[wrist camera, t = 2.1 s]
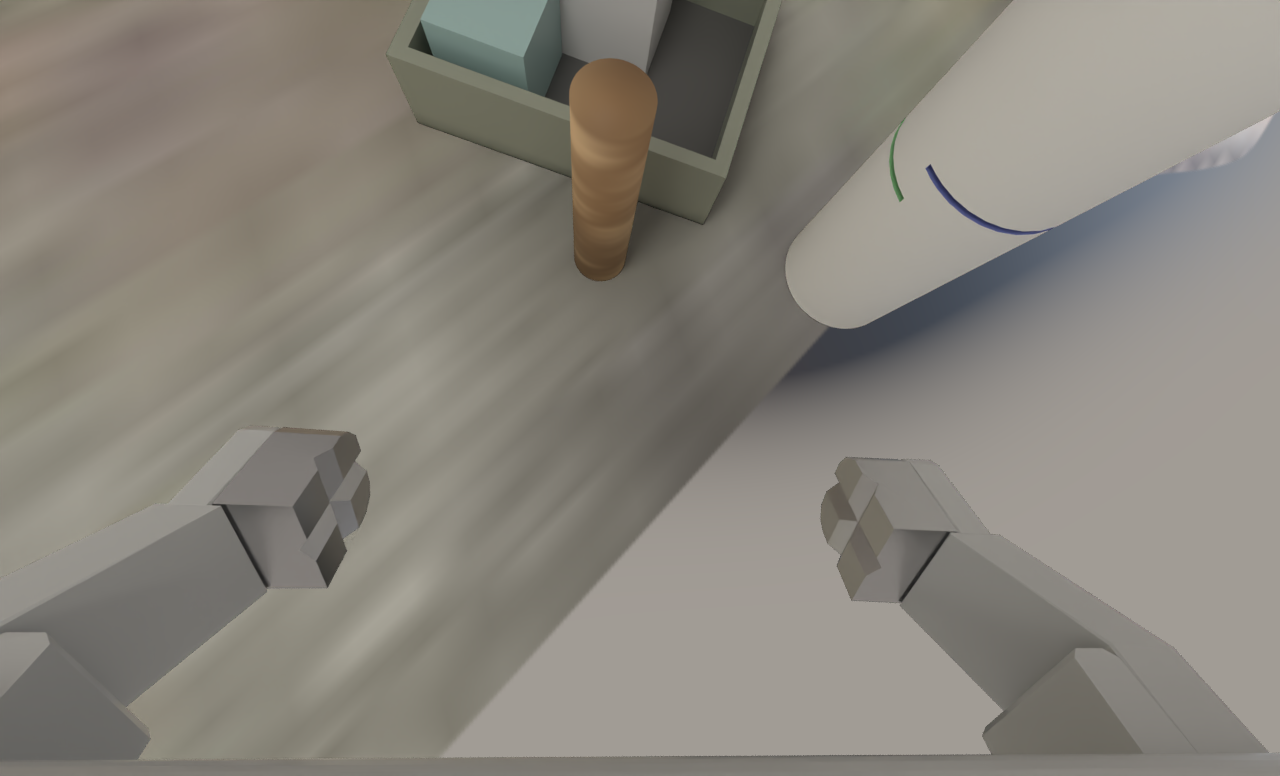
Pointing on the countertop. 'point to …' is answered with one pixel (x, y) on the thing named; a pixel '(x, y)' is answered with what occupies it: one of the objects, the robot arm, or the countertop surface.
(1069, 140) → the cylindrical container
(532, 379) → the countertop surface
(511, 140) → the grey open box
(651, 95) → the brown wooden cylinder
